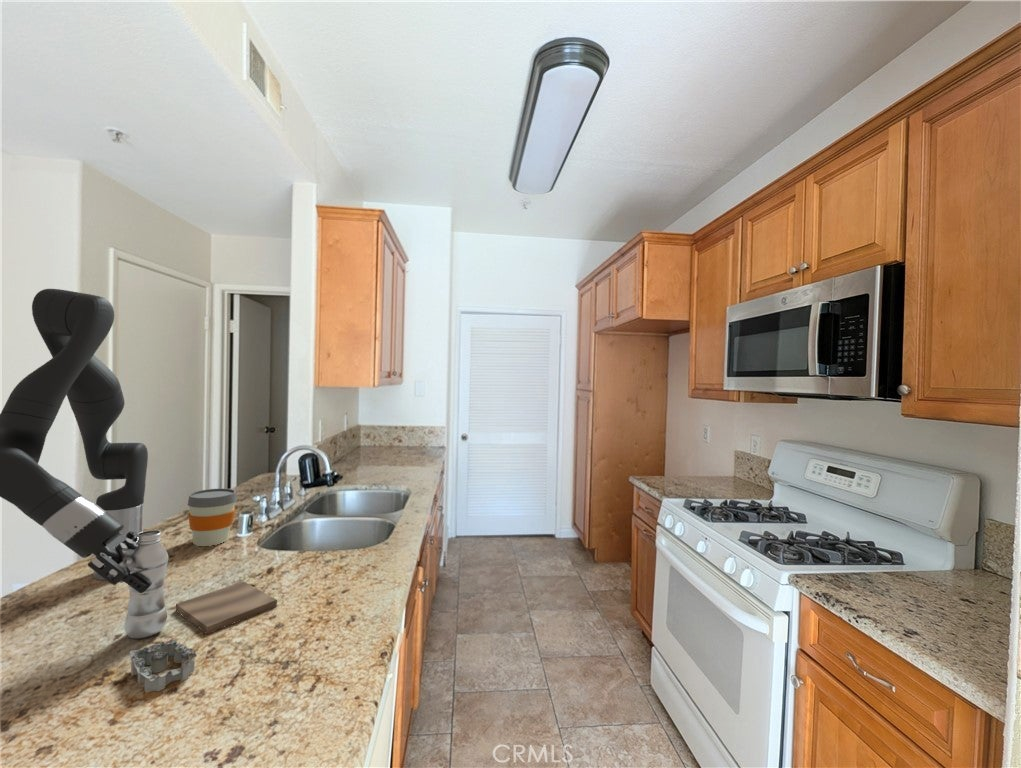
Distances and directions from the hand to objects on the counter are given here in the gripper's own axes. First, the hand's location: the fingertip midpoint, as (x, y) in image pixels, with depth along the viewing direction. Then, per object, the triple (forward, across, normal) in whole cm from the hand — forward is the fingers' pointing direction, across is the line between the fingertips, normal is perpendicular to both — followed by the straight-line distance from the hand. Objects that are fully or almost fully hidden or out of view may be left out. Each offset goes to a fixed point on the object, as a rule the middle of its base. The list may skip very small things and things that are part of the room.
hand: (155, 579), depth 88 cm
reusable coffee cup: (+6, +53, +9) cm, 54 cm away
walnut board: (+15, +6, 0) cm, 17 cm away
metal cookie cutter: (+12, -15, +4) cm, 19 cm away
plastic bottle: (+7, 0, +9) cm, 11 cm away
